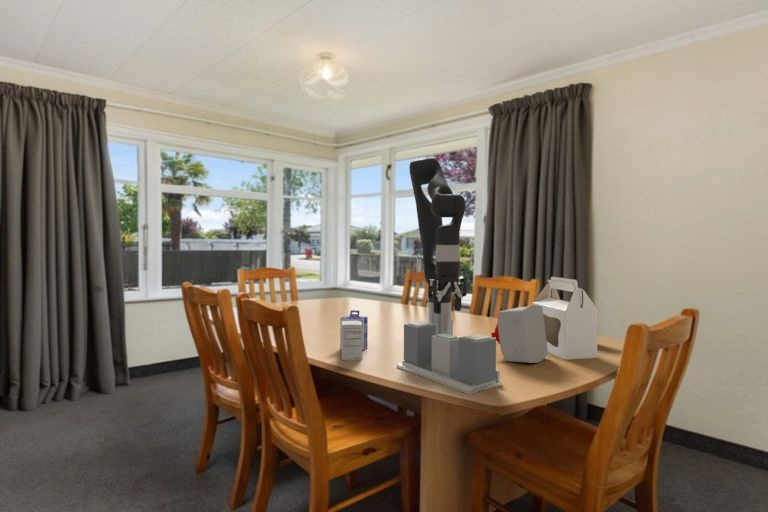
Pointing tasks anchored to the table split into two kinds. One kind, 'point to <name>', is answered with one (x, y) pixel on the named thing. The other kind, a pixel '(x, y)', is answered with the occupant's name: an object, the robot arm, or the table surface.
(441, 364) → the block
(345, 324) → the supplement box
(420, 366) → the rail base
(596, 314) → the gable box
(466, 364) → the block
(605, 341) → the table surface
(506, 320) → the electrical switch box
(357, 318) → the ink cartridge box
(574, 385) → the table surface
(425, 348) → the block
